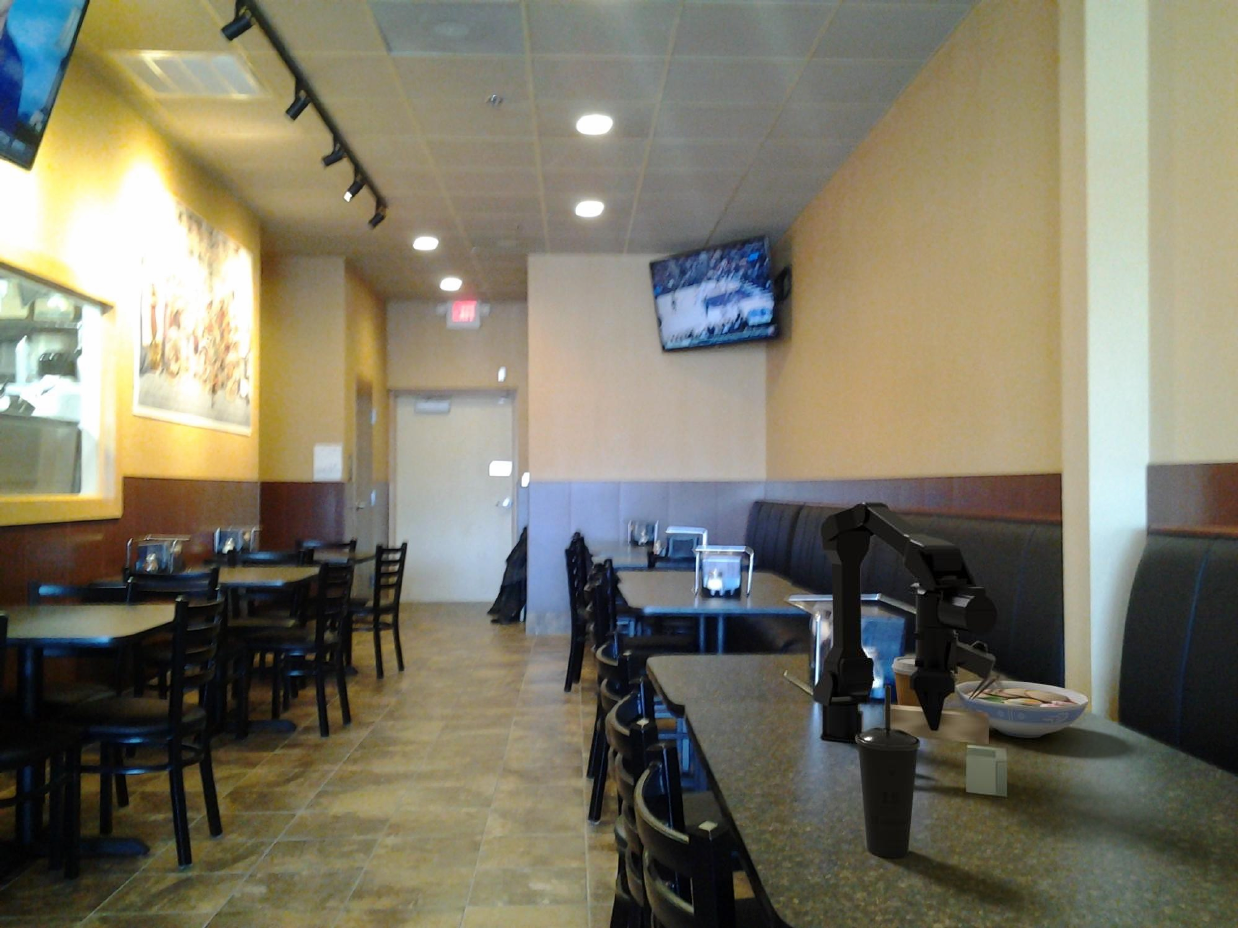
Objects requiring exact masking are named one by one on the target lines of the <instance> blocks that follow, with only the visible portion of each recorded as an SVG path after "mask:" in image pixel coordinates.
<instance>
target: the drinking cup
mask: <svg viewBox="0 0 1238 928" xmlns="http://www.w3.org/2000/svg"><path fill="white" fill-rule="evenodd" d="M891 688H892V687H891V686H890V685H884V707H885V727H884V726H878V727H872V728H869V729H866V730H865V731H864V730H863V732H861V733H858V734H857V735H856V742H855V743H857V748H858V759H859V769H860V780H861V792H862V803H863V806H862V807H863V816H864V817H863V818H864V826H865V827H864V828H865V838H866V849H867V851H868V852H869V853H870V854H871V855H874V856H877V857H880V858H886V859H900V858H901V859H902V858H904V857H906V856H908V854H909V848H910V847H909V846H910V836H911V826H912V825H911V824H912V814H913V803H914V793H915V782H916V781H915V780H916V772H917V763H918V762H917V761H918V749H919V748H920V746H921V740H920V738H917V737H914V736H912V735H910V734H908V733H907V732H905V731H902V730H900V729H896V728H891V705H892V704H891V701H892V699H891V698H892V697H891V695H892V694H891V693H892V692H891V691H892V690H891Z"/></svg>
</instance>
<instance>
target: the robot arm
mask: <svg viewBox="0 0 1238 928" xmlns="http://www.w3.org/2000/svg"><path fill="white" fill-rule="evenodd" d="M820 535H821V541H822V550H823V552H824V553H825V556H827V558H828V559H829V562H830V563H831V566H832V567H831V569H832V571H831V572H832V573H831V574H832V581H831V583H832V585H831V586H832V646H831V648H830V649H829V651H828V653H827V655H826V657H825V658H824V661H823V669H822V670H823V672H822V675H821V676H820V677H819V679H818V680H817V682H816V683H815V685H814V687H813V688H812V694H813V700H814V702H816V703H817V704H818V703H819V704H820V705H822V707H821V708H822V709H821V710H822V711H821V712H822V713H821V715H822V717H821V718H822V719H821V720H822V721H821V727H822V729H821V731H822V733H821V734H820V737H819V738H820V739H821V740H828V741H829V740H830V741H837V742H838V741H839V742H846V743H847V742H848V743H857V742H856V735H857V734H858V733H861V732H864V711H863V710H861V705H862V704H866V705H869V703H870V699H871V694H872V690H873V685H874V682H875V676H874V675H875V674H874V665H875V664H874V663H875V662H874V659H873V657H869V656H868V655H867V652H866V651H865V650H864V649H863V645H862V644H863V643H862V575H861V574H862V573H861V572H862V567H861V566H862V564H863V562H864V561H865V558H866V557H867V556H868V553H869V551H870V548H871V540H872V539H873V538H874V537H875V536H876V537H877V538H879V539H880V540H881V541H883V543H885V544H887V546H889V547H891V549H893V551H895V552H896V553H898V554H899V555H900V556H901V558H902V561H903V562H902V563H903V567H904V568H905V569H906V570H907V571H908V572H909V574H910V575H911V576H912V577H913V578H914V579H915V582H914V583H912V584H911V585H910V586H909V587H908V588H907V591H908V593H910V594H915V631H914V640H915V657H916V658H915V667H917V668H916V669H915V670H914V671H913V672H912V673H911V675H910V689H911V690H914V691H915V694H916V696H917V698H918V701H919V703H920V705H921V708H922V710H923V713H924V715H925V717H926V720H927V722H928V725H929V727H930V730H932V731H938V729H939V724H940V719H941V714H942V709H944V704H945V699H946V698H948V697H949V696H950V695H951V694H955V692H956V684H957V680H958V678H957V677H956V675H958V674H959V668H960V669H962V670H965V671H966V672H969V673H972V674H974V675H976V676H977V677H978V678H980V679H981V680H983V679H985V680H987V681H989V679H990V677H989V675H990V673H991V674H992V670H993V667H994V665H995V663H996V656H995V655H993V654H992V653H988V645H987V644H986V643H984V642H983V641H982V642H981V641H980V640H976V641H975V642H973V644H970V645H969V644H968V643H966V644H965V643H963V642H960V641H959V639H958V638H959V637H958V636H959V633H956V632H957V631H958V632H962V633H963V632H964V633H966V634H967V633H968V634H972V635H976V636H985V635H988V633H990V632H992V630H993V629H994V628H995V626H996V625H997V621H998V611H997V609H996V606H995V605H996V604H995V603H994V602H993V600H992V599H991V598H989V597H988V596H987V595H986V591H987V589H986V588H985V587H982V586H977V584H976V582H975V578H974V576H973V575H972V573H971V571H970V569H969V567H968V565H967V563H966V561H965V559H964V557H963V555H962V553H963V552H962V551H961V549H960V547H958V546H957V545H956V544H955V543H952V542H949V541H947V540H945V539H942V538H938V537H934V536H929V535H926V534H925V533H923V532H921V531H920V530H918V529H917V528H916V527H914V526H913V525H912V524H911V523H910V522H907V521H906V520H905V519H903V518H902V517H900V516H899V515H898V514H896V513H895V512H893V511H892V510H891V509H889V506H888V505H887V504H885V503H883V502H881V501H861V502H860V503H857V504H855V505H854V506H852V507H851V508H848V509H844V510H842V511H840V512H836V513H834V514H830V515H828V516H827V517H826V518H825V520H824V521H823V522H822V524H821V526H820ZM952 671H953V672H952ZM988 678H989V679H988Z"/></svg>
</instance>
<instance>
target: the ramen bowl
mask: <svg viewBox="0 0 1238 928" xmlns="http://www.w3.org/2000/svg"><path fill="white" fill-rule="evenodd" d="M991 677H992V672H991V673H990V675H989V678H988V680H985V679H981V680H976V681H966V682H962V683H960V684H957V685H956V684H955V692H956V694H957V697H958V698H959V700H960V702H961V703H962V704H963V706H964V708H965V709H966V711H975V712H987V713H988V716H989V728H990V727H991V728H993V729H996V730H997V731H998V732H1000V733H1002V734H1003V735H1006V736H1011V737H1016V738H1024V739H1026V738H1027V739H1028V738H1029V739H1031V738H1032V739H1033V738H1040V737H1042V736H1044V735H1047V734H1051V733H1054V732H1059V731H1061V730H1064V729H1065V728H1067V727H1068V726H1070V725H1072V724H1074V723H1075V722H1076V721H1077V720H1078V719H1079V718H1080V717H1081V715H1082V714H1083V712H1084V711H1085V710H1086V708H1087V707H1088V704H1089V703H1090V699H1089V698H1088V696H1087V695H1086V694H1083V693H1080V692H1077V691H1076V690H1072V689H1068V688H1065V687H1064V688H1063V687H1060V686H1054V685H1049V684H1044V683H1043V684H1041V683H1035V682H1027V681H1025V682H1024V681H1015V680H1014V681H1013V680H1011V681H1010V680H999V679H1000V678H1001V674H1000V673H996V674H995V675H994V676H993V677H992V678H991ZM990 678H991V679H990ZM989 679H990V680H989Z"/></svg>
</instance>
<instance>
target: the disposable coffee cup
mask: <svg viewBox="0 0 1238 928" xmlns="http://www.w3.org/2000/svg"><path fill="white" fill-rule="evenodd" d="M915 658H916V656H900V657H899V656H898V657H895V658H894V659H893V663H892V664H891V668H892V670H893V672H894V680H895V689H896V696H897V697H896V698H897V705H902V706H914V707H921V705H920V703H919V701H918V698H917V696H916V694H915V691H914V690H911V689H910V675H911V673H912V672H913V671H914V670H915V669H916V668H917V667H915Z"/></svg>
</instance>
